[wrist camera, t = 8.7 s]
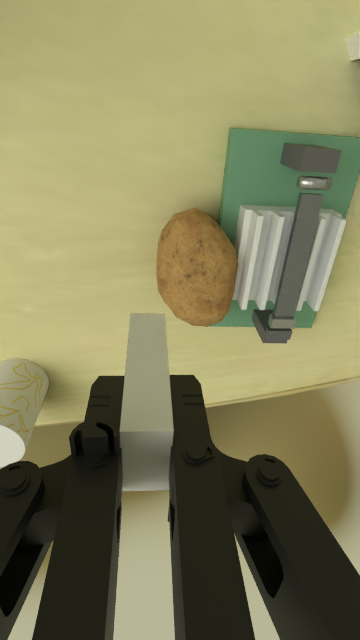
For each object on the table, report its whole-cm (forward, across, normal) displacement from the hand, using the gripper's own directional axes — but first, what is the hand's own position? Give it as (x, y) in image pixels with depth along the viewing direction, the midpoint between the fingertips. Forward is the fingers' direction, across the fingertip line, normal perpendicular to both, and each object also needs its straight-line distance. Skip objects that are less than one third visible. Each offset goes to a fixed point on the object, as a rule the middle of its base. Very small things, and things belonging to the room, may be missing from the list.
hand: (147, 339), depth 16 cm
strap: (+22, +16, -4) cm, 27 cm away
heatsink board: (+28, +16, -4) cm, 33 cm away
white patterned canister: (+29, -19, -27) cm, 44 cm away
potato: (+29, +6, -6) cm, 30 cm away
